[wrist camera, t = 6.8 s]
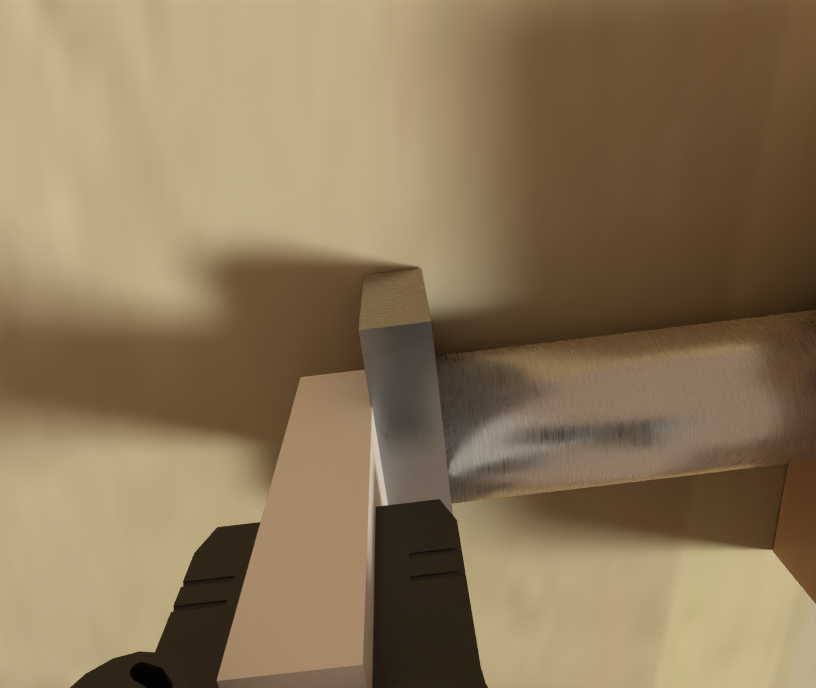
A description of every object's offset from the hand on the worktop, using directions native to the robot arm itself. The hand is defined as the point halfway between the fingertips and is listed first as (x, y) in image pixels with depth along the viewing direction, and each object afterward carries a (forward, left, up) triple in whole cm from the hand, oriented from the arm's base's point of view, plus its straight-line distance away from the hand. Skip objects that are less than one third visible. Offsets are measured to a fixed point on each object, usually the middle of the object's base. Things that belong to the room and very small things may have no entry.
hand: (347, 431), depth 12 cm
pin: (+8, 0, -2) cm, 8 cm away
